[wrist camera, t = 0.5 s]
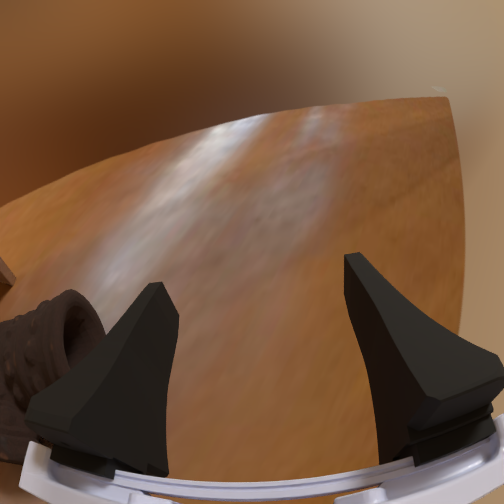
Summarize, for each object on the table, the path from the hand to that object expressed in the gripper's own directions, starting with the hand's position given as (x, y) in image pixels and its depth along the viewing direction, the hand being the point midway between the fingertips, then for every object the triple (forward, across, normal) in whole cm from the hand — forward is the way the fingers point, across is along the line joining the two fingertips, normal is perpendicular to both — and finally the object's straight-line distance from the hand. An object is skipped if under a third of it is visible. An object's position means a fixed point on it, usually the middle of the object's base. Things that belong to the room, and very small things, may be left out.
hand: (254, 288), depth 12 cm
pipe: (+1, +23, +12) cm, 26 cm away
